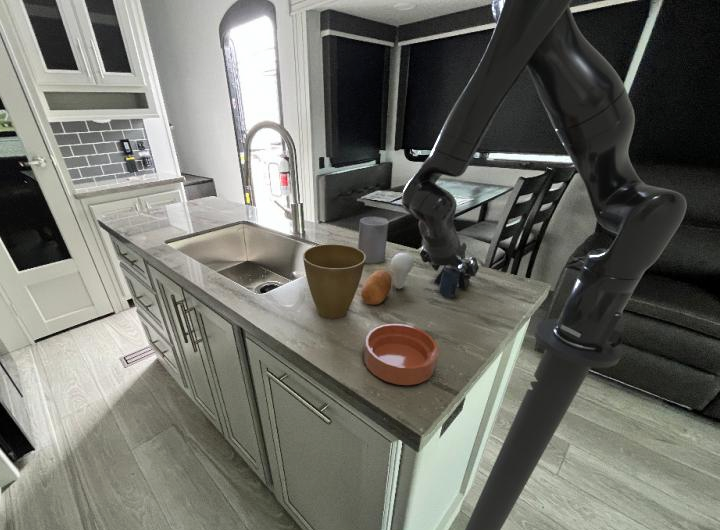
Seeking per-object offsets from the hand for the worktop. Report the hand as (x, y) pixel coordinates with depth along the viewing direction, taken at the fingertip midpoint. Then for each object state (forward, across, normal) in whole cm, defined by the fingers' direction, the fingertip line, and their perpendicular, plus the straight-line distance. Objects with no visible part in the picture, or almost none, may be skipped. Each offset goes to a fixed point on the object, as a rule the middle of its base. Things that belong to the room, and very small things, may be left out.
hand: (452, 272), depth 89 cm
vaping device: (+4, 0, +5) cm, 7 cm away
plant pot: (-16, +18, +26) cm, 35 cm away
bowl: (-20, -5, +30) cm, 37 cm away
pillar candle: (+10, +31, 0) cm, 32 cm away
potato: (-6, +14, +16) cm, 22 cm away
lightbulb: (0, +12, +10) cm, 15 cm away
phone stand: (+10, +2, 0) cm, 10 cm away
